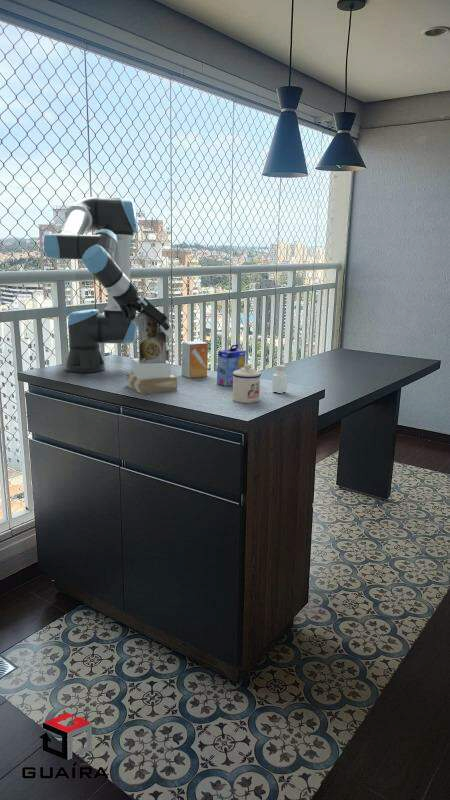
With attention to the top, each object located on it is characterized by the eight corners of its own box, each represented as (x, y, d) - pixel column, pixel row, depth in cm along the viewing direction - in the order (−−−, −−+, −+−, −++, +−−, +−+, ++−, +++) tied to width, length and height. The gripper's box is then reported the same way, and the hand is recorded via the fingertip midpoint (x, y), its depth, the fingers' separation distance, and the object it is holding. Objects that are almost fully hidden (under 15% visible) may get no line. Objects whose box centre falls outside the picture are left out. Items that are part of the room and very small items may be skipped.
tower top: (132, 372, 196) (131, 358, 195) (162, 371, 200) (162, 357, 198) (138, 378, 186) (138, 364, 185) (170, 377, 190) (170, 363, 188)
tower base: (127, 387, 196) (127, 373, 195) (161, 383, 203) (161, 370, 201) (141, 395, 185) (141, 380, 184) (176, 391, 192) (177, 377, 190)
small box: (189, 378, 210) (189, 344, 207) (181, 375, 215) (181, 341, 212) (207, 376, 214) (208, 342, 211) (199, 373, 220) (199, 340, 216)
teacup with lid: (251, 405, 175) (252, 368, 172) (226, 400, 179) (227, 365, 176) (268, 397, 185) (270, 363, 182) (244, 393, 189) (246, 359, 186)
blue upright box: (227, 386, 198) (228, 346, 195) (215, 384, 202) (216, 344, 198) (245, 382, 206) (246, 343, 202) (234, 380, 209) (235, 341, 206)
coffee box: (164, 359, 195) (164, 312, 190) (166, 362, 189) (166, 314, 184) (138, 359, 193) (137, 312, 189) (139, 363, 187) (138, 314, 183)
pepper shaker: (280, 394, 189) (282, 367, 187) (271, 392, 192) (272, 365, 190) (287, 392, 192) (288, 365, 190) (277, 390, 195) (279, 363, 193)
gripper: (91, 294, 182) (129, 336, 196) (138, 300, 165) (176, 346, 180) (105, 278, 184) (141, 320, 199) (152, 282, 168) (189, 328, 182)
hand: (158, 332), depth 189 cm, fingers open, 13 cm apart
